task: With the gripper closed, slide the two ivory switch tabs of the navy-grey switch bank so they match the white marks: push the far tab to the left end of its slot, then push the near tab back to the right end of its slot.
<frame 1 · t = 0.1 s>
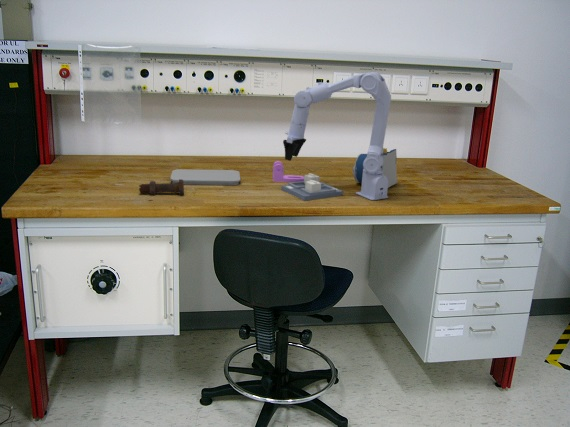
hand: (291, 158, 213), 10 cm above the table, tool pointing down, fingers open, 7 cm apart
bracket: (289, 180, 224), on the table
near tab: (313, 186, 203), point 4 cm above the table, slide at 2.5 cm
far tab: (311, 179, 212), point 4 cm above the table, slide at -2.5 cm
tablet: (205, 181, 218), on the table
bolt: (161, 194, 198), on the table
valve: (373, 185, 223), on the table
switch bank: (311, 192, 208), on the table
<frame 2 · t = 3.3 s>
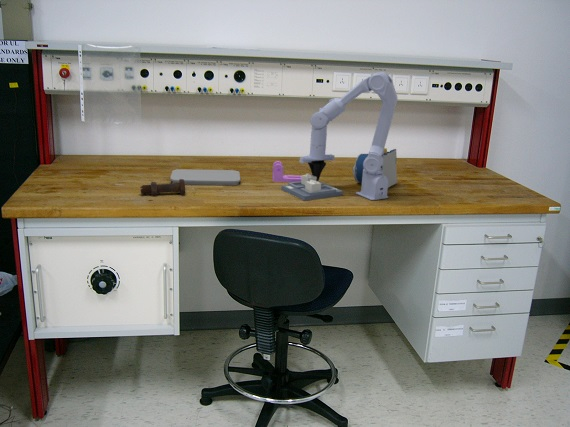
hand: (315, 180, 213), 3 cm above the table, tool pointing down, fingers closed
far tab: (308, 179, 211), point 4 cm above the table, slide at -1.2 cm, touching gripper
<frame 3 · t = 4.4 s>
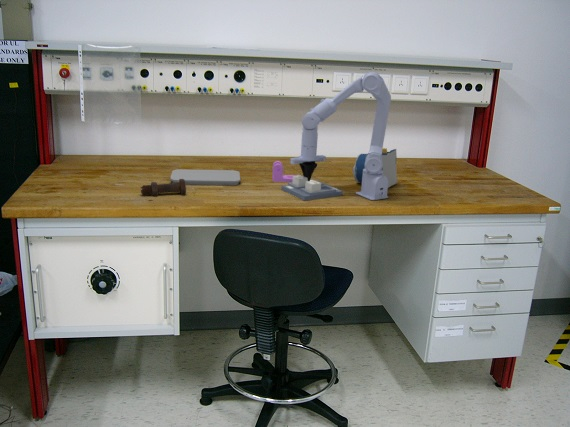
hand: (306, 181, 211), 3 cm above the table, tool pointing down, fingers closed
far tab: (300, 180, 209), point 4 cm above the table, slide at 2.7 cm, touching gripper
everything else where it was.
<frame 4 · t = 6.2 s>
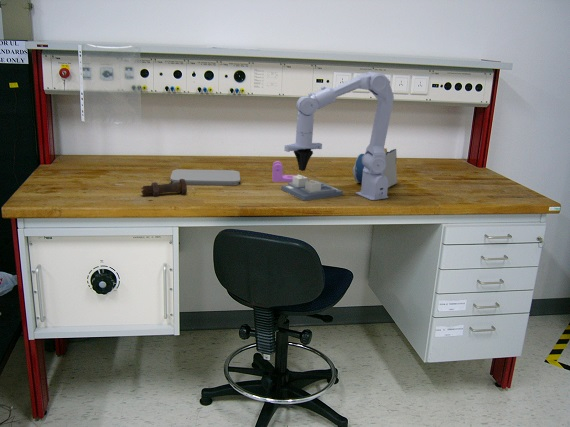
hand: (302, 170, 200), 10 cm above the table, tool pointing down, fingers closed
far tab: (300, 180, 209), point 4 cm above the table, slide at 2.7 cm
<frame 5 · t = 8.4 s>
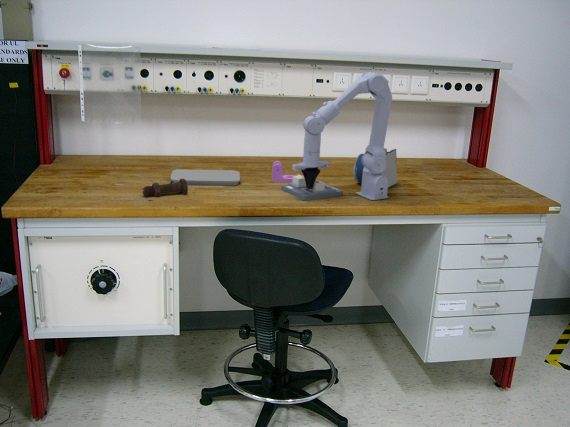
hand: (309, 188, 202), 3 cm above the table, tool pointing down, fingers closed
near tab: (316, 185, 203), point 4 cm above the table, slide at 0.8 cm, touching gripper
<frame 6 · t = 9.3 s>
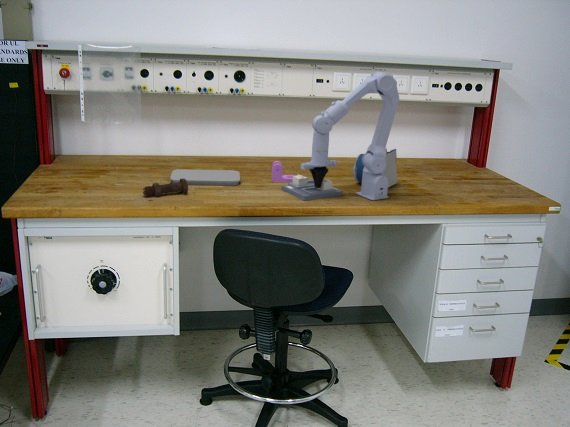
hand: (317, 187, 204), 3 cm above the table, tool pointing down, fingers closed
near tab: (324, 184, 205), point 4 cm above the table, slide at -2.7 cm, touching gripper
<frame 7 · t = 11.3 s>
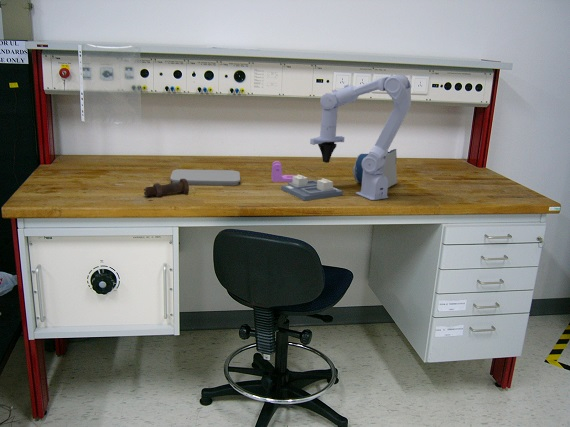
hand: (325, 162, 213), 10 cm above the table, tool pointing down, fingers closed
near tab: (324, 184, 205), point 4 cm above the table, slide at -2.7 cm
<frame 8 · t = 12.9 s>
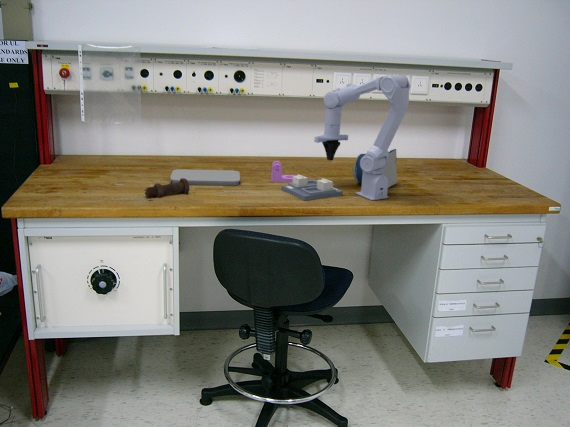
hand: (329, 159, 216), 10 cm above the table, tool pointing down, fingers closed
at the end: far tab slide at 2.7 cm; near tab slide at -2.7 cm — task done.
